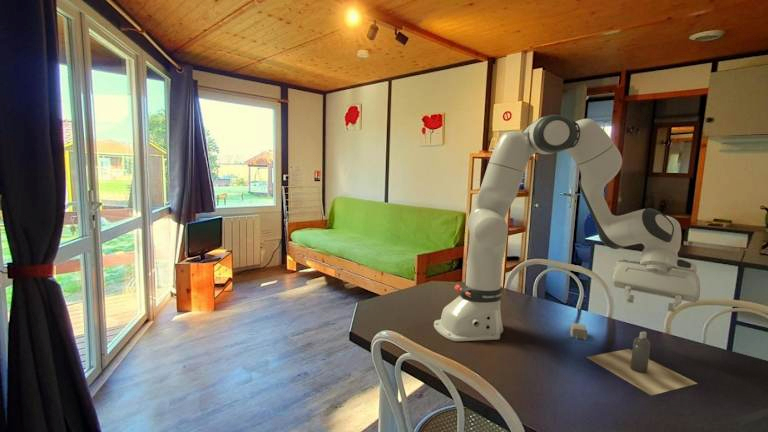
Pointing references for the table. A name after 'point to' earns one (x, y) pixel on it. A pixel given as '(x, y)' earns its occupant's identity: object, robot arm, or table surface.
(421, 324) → the table surface
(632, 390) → the table surface
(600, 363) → the birch board
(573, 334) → the usb wall charger
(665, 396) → the table surface
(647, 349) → the dark bottle
